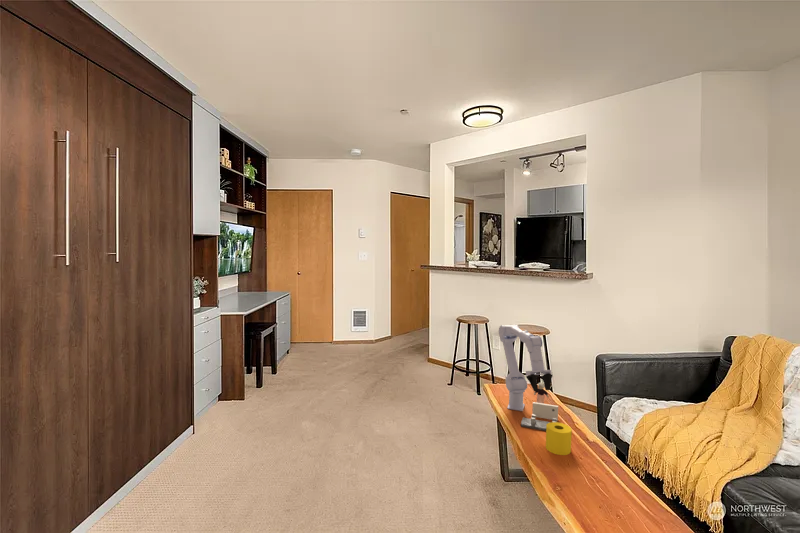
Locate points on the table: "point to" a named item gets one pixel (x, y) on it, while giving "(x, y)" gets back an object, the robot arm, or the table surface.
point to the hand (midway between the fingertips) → (541, 390)
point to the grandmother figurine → (541, 393)
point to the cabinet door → (545, 411)
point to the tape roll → (558, 438)
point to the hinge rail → (535, 423)
